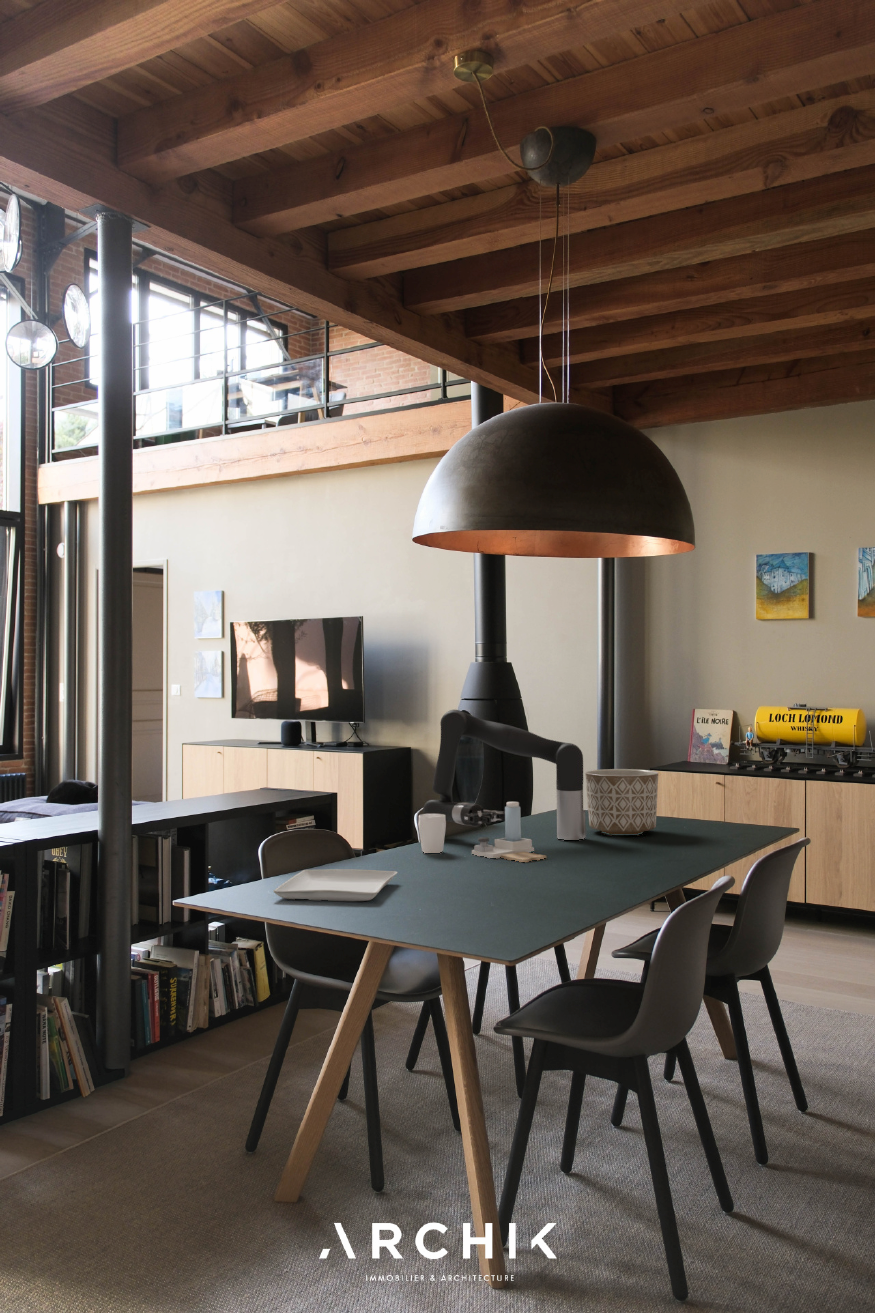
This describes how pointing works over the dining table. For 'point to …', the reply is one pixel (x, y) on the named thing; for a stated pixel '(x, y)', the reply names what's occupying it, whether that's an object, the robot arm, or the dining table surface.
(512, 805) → the bottle
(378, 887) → the square plate
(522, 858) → the coaster
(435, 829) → the cup
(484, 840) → the plunger
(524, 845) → the housing
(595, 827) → the planter
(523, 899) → the dining table surface
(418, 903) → the dining table surface
